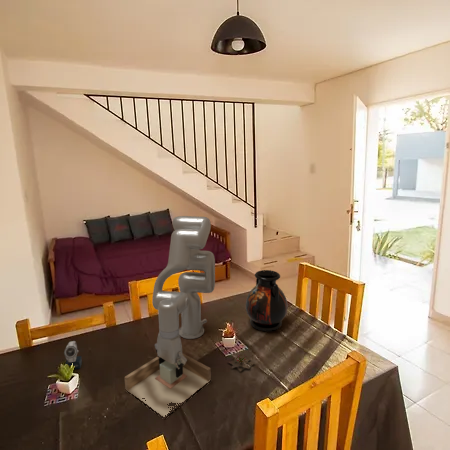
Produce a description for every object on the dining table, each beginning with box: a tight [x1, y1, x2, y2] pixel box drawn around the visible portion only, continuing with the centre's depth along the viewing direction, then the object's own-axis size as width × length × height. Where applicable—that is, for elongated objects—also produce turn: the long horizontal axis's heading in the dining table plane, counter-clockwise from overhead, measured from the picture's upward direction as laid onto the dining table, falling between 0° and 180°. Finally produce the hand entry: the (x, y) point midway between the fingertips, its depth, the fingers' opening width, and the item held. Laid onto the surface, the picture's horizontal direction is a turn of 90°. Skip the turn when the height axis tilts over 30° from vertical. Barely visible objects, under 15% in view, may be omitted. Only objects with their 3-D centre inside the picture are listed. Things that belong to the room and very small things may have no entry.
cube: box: [160, 361, 182, 384], centre depth 129 cm, size 6×6×6 cm
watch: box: [63, 340, 83, 370], centre depth 137 cm, size 6×8×11 cm
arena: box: [124, 352, 212, 417], centre depth 126 cm, size 24×22×6 cm
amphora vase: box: [245, 269, 289, 332], centre depth 169 cm, size 22×22×28 cm
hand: (170, 370), depth 129 cm, fingers open, 9 cm apart
